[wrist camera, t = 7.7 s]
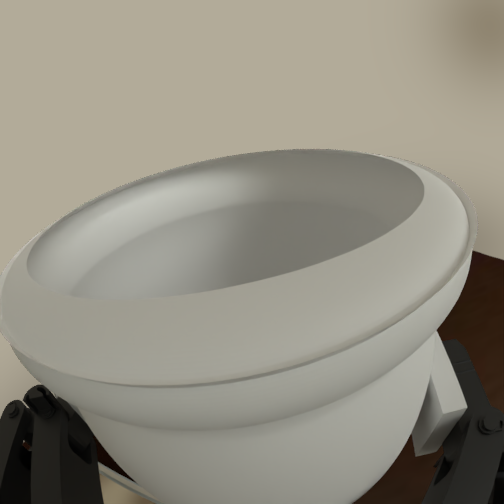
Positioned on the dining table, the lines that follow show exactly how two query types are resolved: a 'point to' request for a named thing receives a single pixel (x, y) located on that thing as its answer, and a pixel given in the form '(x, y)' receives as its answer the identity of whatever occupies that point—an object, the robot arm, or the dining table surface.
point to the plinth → (119, 493)
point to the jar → (247, 319)
